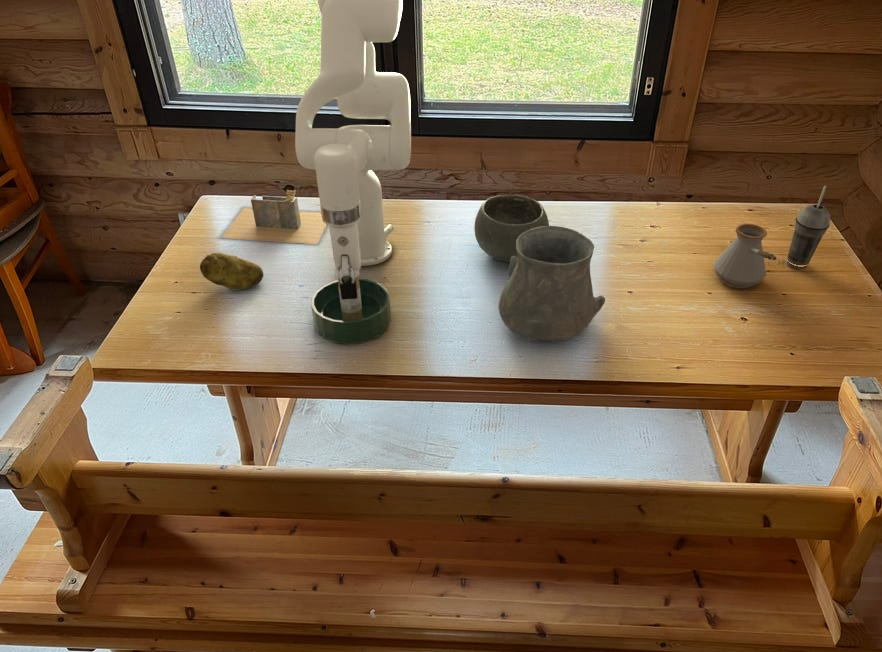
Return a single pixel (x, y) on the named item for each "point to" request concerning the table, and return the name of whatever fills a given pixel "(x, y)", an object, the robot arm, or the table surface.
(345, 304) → the sprinkles bottle
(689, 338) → the table surface
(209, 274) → the potato
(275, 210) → the architectural model on board
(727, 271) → the coffee pot
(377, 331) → the green round dish
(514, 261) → the vessel
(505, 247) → the bowl
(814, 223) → the beverage cup
